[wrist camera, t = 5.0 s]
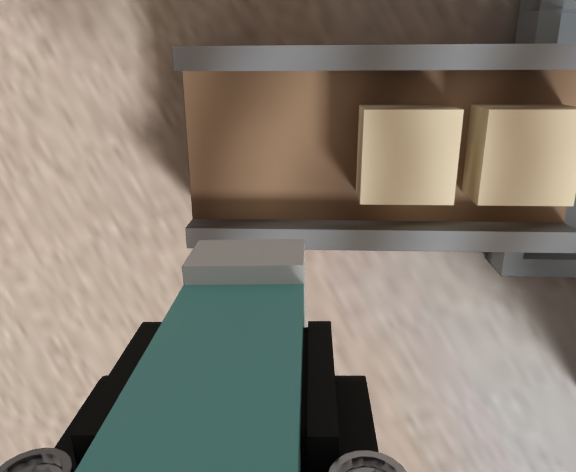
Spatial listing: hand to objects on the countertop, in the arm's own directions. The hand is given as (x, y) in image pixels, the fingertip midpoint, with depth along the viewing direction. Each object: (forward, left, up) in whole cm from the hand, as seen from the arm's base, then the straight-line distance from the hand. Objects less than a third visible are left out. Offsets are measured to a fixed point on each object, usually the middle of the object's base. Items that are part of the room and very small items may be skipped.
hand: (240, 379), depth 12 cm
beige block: (-11, -3, -14) cm, 18 cm away
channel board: (-5, -3, -18) cm, 19 cm away
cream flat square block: (-6, -3, -14) cm, 15 cm away
